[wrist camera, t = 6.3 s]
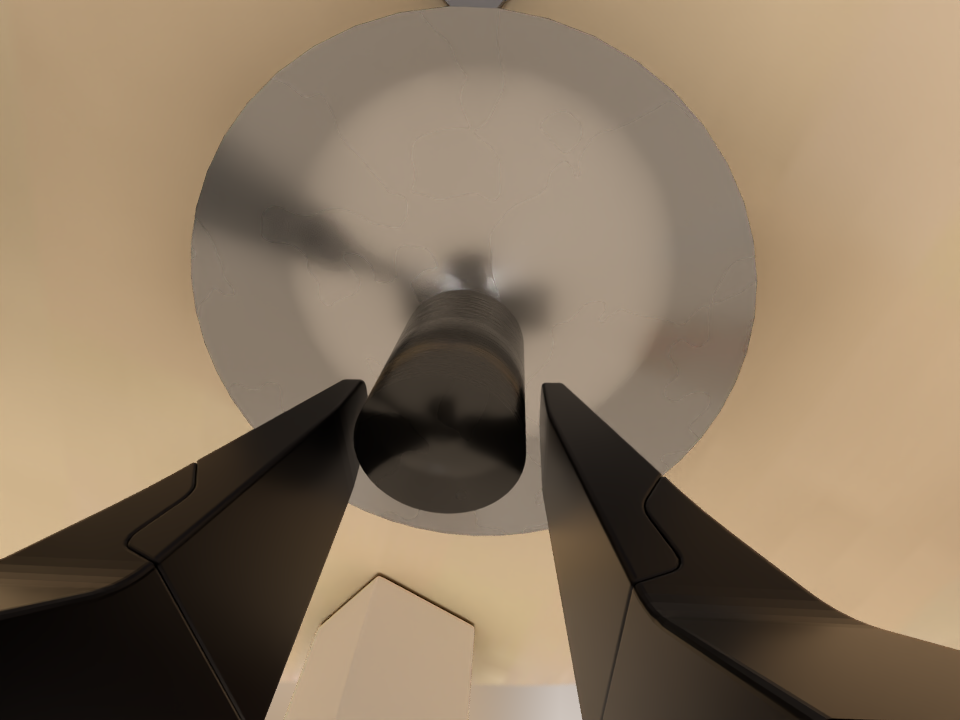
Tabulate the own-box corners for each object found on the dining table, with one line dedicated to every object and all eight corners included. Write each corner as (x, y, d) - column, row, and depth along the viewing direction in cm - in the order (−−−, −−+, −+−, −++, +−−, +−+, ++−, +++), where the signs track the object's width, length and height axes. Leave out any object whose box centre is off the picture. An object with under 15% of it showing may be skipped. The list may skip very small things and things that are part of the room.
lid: (126, 328, 13) (-66, 434, 9) (446, -199, 7) (353, -603, 3) (475, 571, 17) (461, 726, 12) (850, 338, 11) (1046, 471, 7)
